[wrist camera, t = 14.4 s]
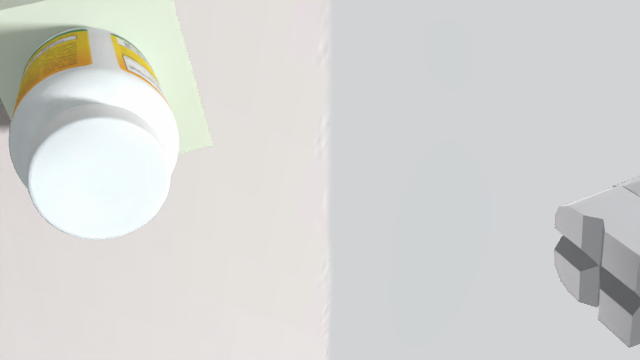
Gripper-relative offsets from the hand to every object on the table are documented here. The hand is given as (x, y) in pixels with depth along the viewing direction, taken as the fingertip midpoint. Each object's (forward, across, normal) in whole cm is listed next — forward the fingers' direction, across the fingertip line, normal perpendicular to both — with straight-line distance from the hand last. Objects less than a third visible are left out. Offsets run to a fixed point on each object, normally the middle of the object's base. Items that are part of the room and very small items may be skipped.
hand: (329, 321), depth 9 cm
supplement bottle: (+20, +5, +1) cm, 20 cm away
